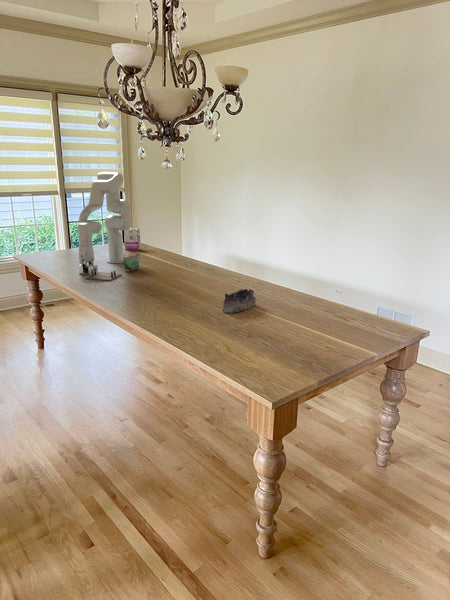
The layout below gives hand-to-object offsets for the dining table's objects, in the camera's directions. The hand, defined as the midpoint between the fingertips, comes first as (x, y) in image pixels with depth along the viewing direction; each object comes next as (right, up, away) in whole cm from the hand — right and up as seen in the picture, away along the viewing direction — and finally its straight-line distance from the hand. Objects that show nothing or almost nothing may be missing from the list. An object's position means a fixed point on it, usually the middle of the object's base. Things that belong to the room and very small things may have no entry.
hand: (88, 271), depth 272 cm
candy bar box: (+13, +22, +69) cm, 74 cm away
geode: (+92, -22, -59) cm, 112 cm away
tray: (+13, -4, -10) cm, 16 cm away
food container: (+28, +1, +6) cm, 28 cm away
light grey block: (0, -1, 0) cm, 1 cm away
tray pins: (+13, -3, -10) cm, 16 cm away
